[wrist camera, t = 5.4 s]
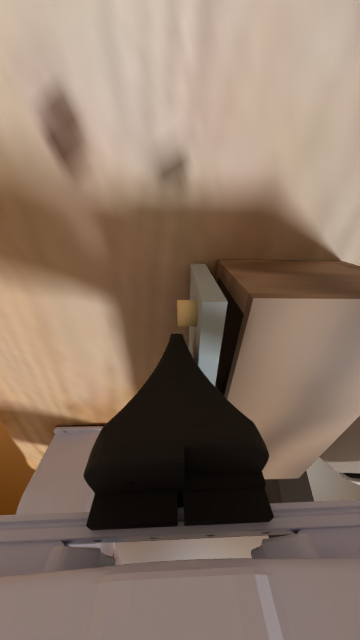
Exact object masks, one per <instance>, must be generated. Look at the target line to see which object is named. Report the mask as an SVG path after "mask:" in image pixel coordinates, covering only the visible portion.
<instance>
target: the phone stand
mask: <svg viewBox="0 0 360 640" xmlns="http://www.w3.org/2000/svg"><path fill="white" fill-rule="evenodd" d="M265 482H266V487H264V488H265V491H266V494H267V497H268V500H269V503H270V504H271V503H293V502H314V500H313V496H312V492H311V488H310V484H309V481H308V476H307V472H306V471H305V472H304V473H303V474H302V475H301V476H300V477H299V478H293V479H265ZM286 535H291V534H283V535H268V536H269V538H274V537H280V536H286Z"/></svg>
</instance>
